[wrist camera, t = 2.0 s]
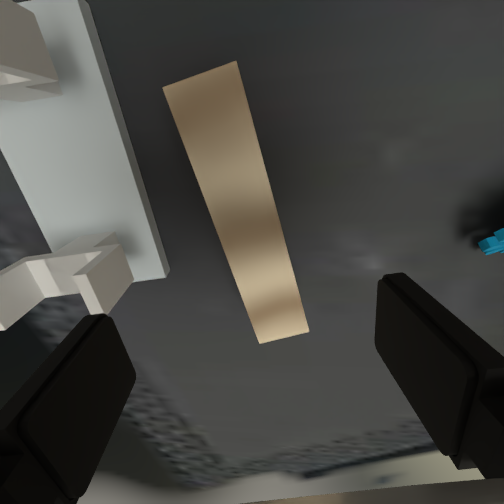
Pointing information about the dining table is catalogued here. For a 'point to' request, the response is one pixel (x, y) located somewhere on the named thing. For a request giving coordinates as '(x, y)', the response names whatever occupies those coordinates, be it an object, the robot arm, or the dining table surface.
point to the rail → (238, 196)
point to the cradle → (70, 162)
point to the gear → (493, 243)
